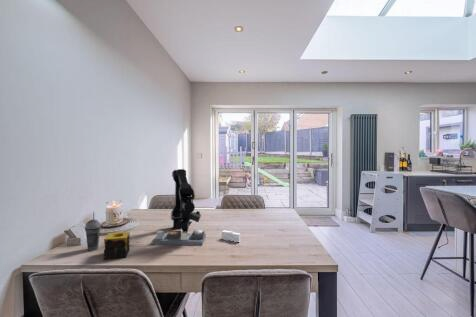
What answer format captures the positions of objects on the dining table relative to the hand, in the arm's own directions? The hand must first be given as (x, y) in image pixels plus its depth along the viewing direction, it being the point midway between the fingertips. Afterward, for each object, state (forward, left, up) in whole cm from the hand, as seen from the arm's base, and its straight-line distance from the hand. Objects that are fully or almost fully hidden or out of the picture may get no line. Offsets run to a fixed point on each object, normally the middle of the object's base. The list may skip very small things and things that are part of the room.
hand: (185, 235), depth 141 cm
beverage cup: (+14, -46, -4) cm, 48 cm away
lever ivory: (+3, 0, -1) cm, 3 cm away
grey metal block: (+3, -14, -1) cm, 14 cm away
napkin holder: (-2, +26, -4) cm, 27 cm away
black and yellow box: (+20, -30, -4) cm, 36 cm away
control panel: (-1, -4, -4) cm, 5 cm away
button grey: (-1, +7, 0) cm, 7 cm away
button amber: (-1, -7, -1) cm, 7 cm away
